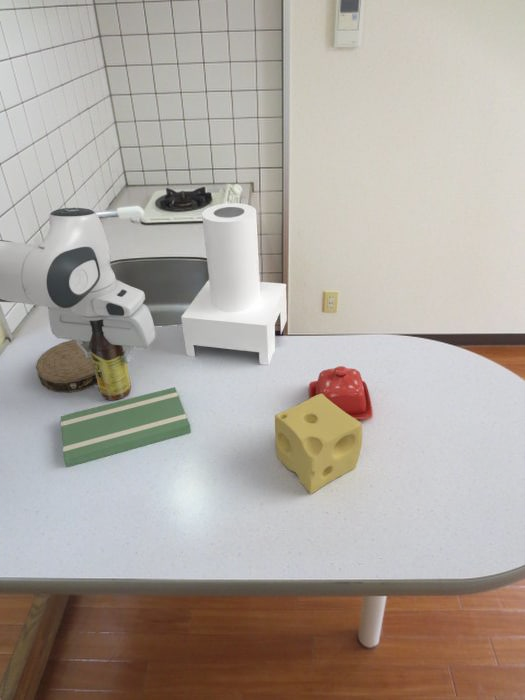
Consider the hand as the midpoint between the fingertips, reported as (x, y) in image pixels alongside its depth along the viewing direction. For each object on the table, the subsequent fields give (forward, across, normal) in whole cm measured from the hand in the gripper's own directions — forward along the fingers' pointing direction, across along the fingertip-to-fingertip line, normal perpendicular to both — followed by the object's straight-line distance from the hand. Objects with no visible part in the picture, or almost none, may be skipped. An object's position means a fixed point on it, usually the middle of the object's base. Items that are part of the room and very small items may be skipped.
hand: (109, 358), depth 102 cm
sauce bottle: (+9, 0, 0) cm, 9 cm away
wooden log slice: (+9, -12, +6) cm, 16 cm away
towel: (+8, +6, -9) cm, 14 cm away
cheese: (+9, +42, -10) cm, 45 cm away
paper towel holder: (+9, +18, +25) cm, 32 cm away
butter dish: (+9, +44, +6) cm, 46 cm away
